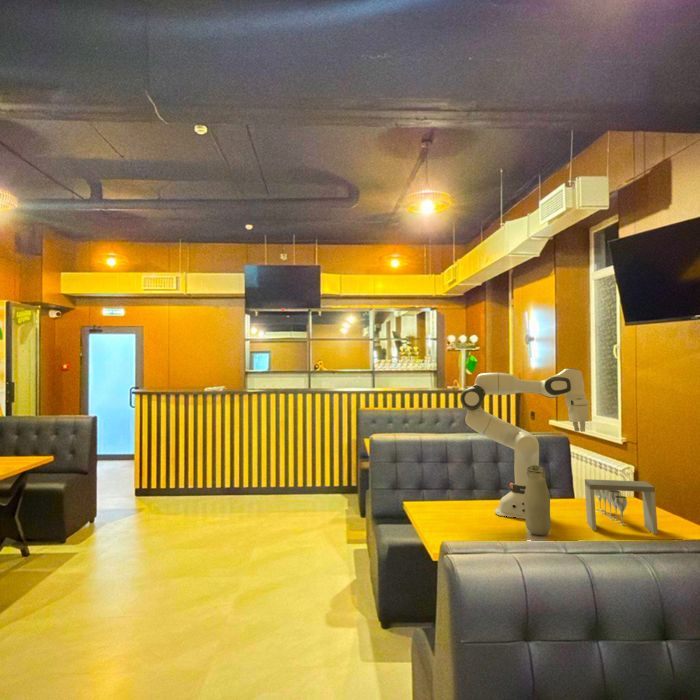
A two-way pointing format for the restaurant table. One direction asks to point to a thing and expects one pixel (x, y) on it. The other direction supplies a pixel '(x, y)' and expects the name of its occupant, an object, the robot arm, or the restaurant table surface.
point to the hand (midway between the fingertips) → (579, 431)
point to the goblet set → (612, 501)
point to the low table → (617, 485)
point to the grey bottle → (537, 501)
